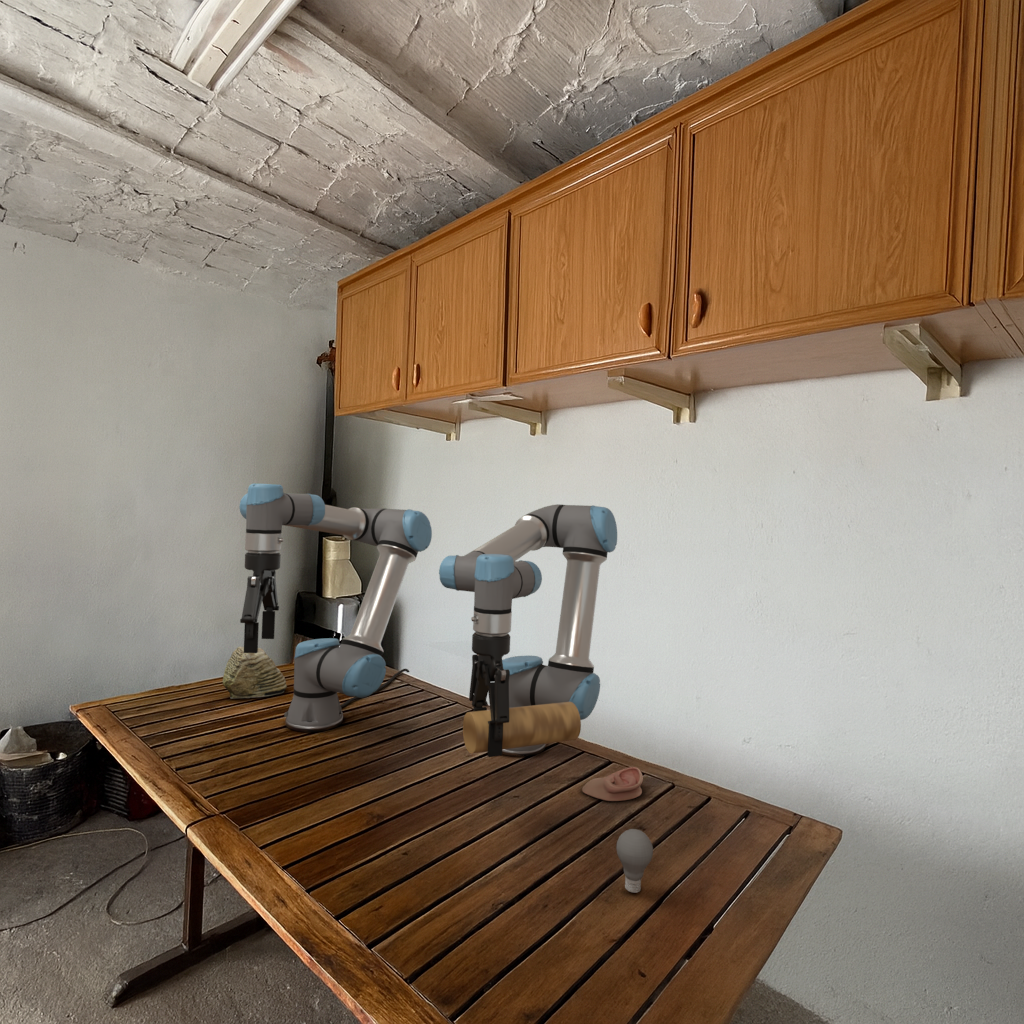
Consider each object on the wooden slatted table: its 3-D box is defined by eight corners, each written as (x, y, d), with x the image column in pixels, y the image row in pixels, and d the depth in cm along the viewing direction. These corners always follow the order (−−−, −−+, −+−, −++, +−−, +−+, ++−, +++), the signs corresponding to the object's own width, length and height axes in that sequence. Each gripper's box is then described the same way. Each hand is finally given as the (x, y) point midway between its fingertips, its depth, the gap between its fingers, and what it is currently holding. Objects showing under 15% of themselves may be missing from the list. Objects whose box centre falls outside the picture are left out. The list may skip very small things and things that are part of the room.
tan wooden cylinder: (561, 732, 137) (563, 696, 137) (580, 745, 130) (581, 708, 130) (462, 744, 127) (463, 706, 127) (475, 759, 120) (477, 719, 120)
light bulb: (610, 879, 108) (613, 822, 108) (644, 879, 109) (647, 822, 109) (619, 902, 102) (622, 840, 102) (655, 901, 103) (658, 840, 103)
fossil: (218, 695, 195) (220, 647, 195) (278, 685, 208) (279, 640, 207) (228, 703, 189) (230, 653, 188) (289, 692, 201) (290, 645, 201)
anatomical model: (581, 779, 138) (585, 758, 149) (580, 797, 138) (585, 775, 149) (643, 787, 135) (643, 766, 147) (642, 806, 136) (642, 783, 147)
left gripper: (264, 557, 131) (261, 659, 131) (293, 548, 156) (289, 633, 156) (227, 556, 130) (223, 659, 131) (261, 546, 155) (258, 633, 155)
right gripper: (456, 623, 133) (451, 731, 133) (494, 645, 114) (488, 771, 114) (489, 622, 136) (484, 727, 136) (531, 643, 117) (525, 765, 118)
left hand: (259, 645), depth 143 cm, fingers open, 13 cm apart
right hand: (486, 747), depth 125 cm, fingers closed on tan wooden cylinder, 8 cm apart
